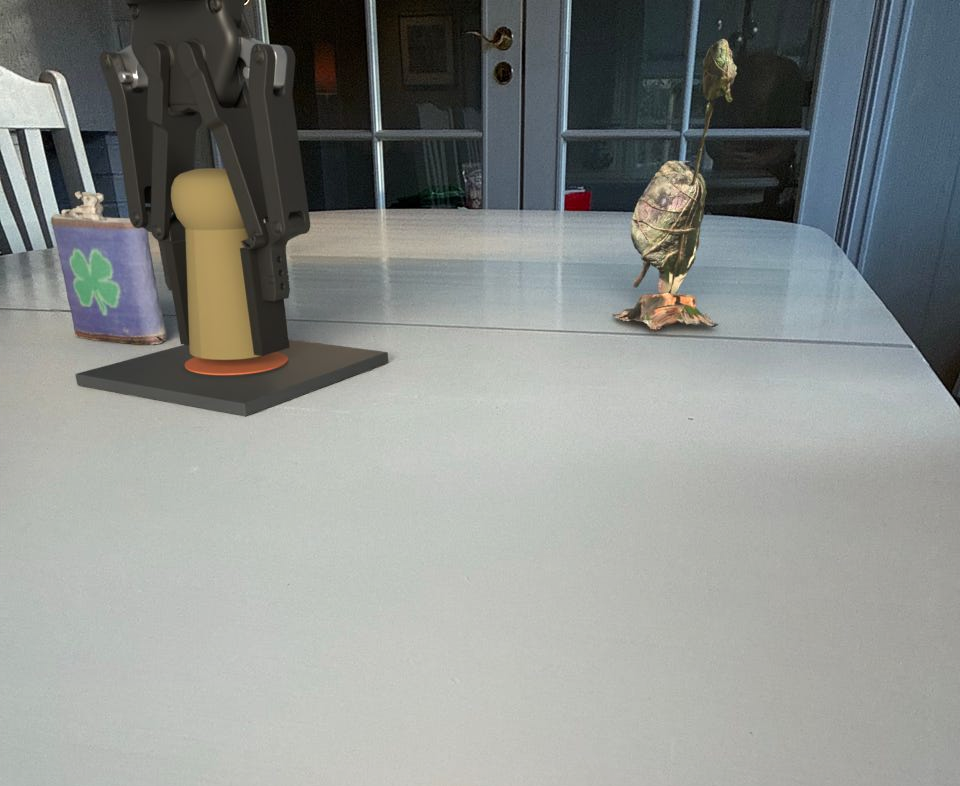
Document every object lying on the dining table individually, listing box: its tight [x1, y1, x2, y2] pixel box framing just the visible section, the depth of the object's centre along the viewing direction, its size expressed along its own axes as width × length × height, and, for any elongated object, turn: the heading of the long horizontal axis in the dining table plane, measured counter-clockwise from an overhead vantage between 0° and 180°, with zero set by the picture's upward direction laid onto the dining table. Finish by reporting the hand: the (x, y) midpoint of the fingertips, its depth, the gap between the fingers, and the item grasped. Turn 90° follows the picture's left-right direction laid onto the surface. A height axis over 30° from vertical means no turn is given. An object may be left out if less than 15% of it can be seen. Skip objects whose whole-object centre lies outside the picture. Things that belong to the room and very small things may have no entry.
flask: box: [50, 190, 168, 346], centre depth 70 cm, size 9×3×11 cm, turn 63°
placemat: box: [74, 338, 389, 417], centre depth 62 cm, size 15×15×1 cm
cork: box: [171, 167, 268, 360], centre depth 59 cm, size 6×6×11 cm
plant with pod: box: [611, 38, 738, 330], centre depth 71 cm, size 8×11×20 cm
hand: (234, 345), depth 62 cm, fingers closed on cork, 6 cm apart
